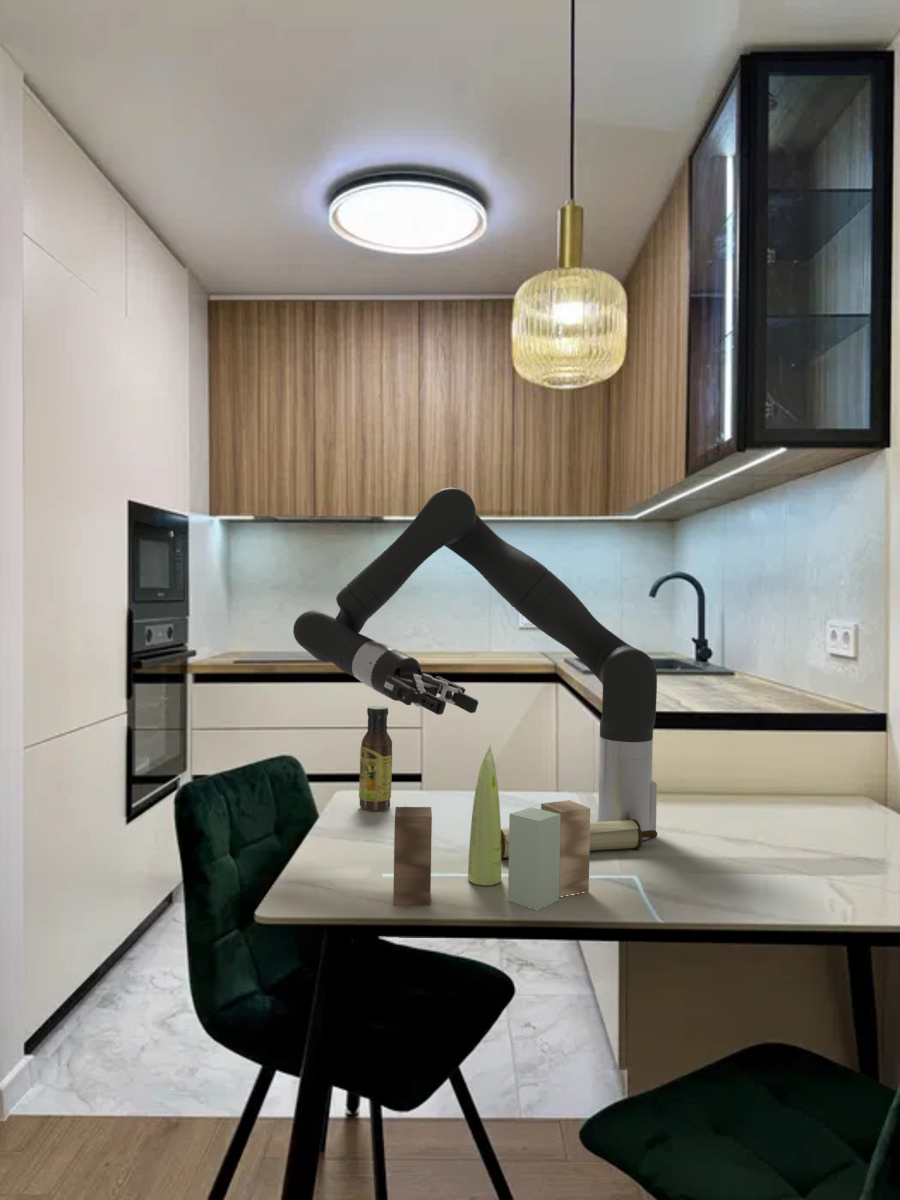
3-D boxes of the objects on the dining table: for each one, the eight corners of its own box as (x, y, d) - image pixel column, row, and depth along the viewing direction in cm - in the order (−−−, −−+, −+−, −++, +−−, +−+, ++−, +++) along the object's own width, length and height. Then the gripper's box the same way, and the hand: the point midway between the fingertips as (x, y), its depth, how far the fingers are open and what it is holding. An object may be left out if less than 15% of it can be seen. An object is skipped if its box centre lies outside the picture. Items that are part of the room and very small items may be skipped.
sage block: (530, 891, 116) (531, 807, 116) (559, 900, 113) (560, 814, 113) (507, 900, 113) (509, 813, 113) (537, 910, 109) (538, 820, 109)
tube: (511, 884, 119) (513, 750, 119) (482, 890, 116) (485, 753, 116) (488, 872, 124) (490, 743, 124) (460, 878, 121) (462, 746, 121)
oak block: (568, 881, 121) (569, 800, 121) (588, 892, 116) (590, 808, 116) (539, 886, 119) (541, 803, 119) (559, 897, 114) (561, 811, 114)
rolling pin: (648, 843, 141) (648, 814, 141) (664, 853, 136) (665, 823, 136) (469, 855, 133) (469, 824, 133) (479, 866, 128) (479, 834, 127)
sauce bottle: (352, 806, 161) (354, 705, 161) (379, 802, 165) (381, 703, 165) (370, 814, 156) (371, 709, 156) (397, 809, 160) (399, 707, 159)
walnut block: (429, 892, 116) (431, 807, 115) (430, 905, 111) (431, 816, 110) (394, 891, 115) (395, 806, 115) (393, 905, 110) (394, 816, 110)
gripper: (363, 647, 129) (439, 685, 120) (419, 649, 141) (492, 685, 131) (349, 691, 130) (424, 733, 121) (406, 690, 142) (478, 728, 132)
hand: (459, 708), depth 126 cm, fingers open, 8 cm apart
